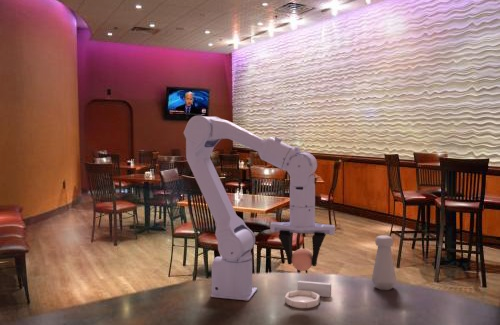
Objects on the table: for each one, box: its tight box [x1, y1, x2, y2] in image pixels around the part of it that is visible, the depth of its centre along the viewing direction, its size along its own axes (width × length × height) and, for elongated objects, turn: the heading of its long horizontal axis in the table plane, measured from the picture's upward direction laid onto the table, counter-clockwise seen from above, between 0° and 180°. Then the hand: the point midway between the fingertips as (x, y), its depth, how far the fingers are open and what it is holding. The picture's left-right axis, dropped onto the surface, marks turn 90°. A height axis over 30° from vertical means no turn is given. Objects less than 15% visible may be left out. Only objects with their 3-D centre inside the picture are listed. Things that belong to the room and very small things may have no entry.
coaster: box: [284, 289, 321, 309], centre depth 107 cm, size 8×8×1 cm
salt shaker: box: [371, 234, 397, 291], centre depth 116 cm, size 6×6×13 cm
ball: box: [291, 248, 313, 272], centre depth 106 cm, size 5×5×5 cm
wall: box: [296, 280, 332, 298], centre depth 111 cm, size 8×1×3 cm, turn 74°
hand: (302, 264), depth 106 cm, fingers closed on ball, 5 cm apart
